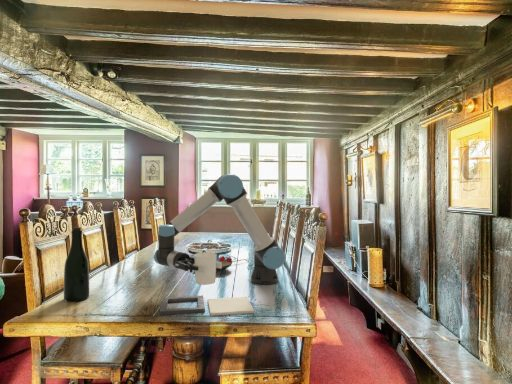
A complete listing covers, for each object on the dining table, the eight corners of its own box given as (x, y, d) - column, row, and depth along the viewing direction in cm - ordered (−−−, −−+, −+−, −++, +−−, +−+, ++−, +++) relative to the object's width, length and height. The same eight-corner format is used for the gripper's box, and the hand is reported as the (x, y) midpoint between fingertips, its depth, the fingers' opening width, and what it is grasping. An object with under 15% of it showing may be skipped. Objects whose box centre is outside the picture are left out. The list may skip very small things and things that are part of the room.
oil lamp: (201, 278, 197) (201, 264, 197) (187, 267, 224) (187, 255, 224) (237, 274, 207) (237, 261, 207) (220, 264, 234) (220, 252, 234)
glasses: (218, 262, 240) (218, 255, 240) (236, 259, 251) (236, 252, 251) (231, 265, 230) (231, 258, 230) (249, 262, 241) (249, 255, 241)
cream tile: (246, 299, 160) (246, 296, 160) (254, 312, 142) (254, 310, 142) (207, 301, 156) (207, 299, 156) (210, 315, 139) (210, 313, 139)
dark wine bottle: (71, 294, 164) (72, 225, 164) (93, 295, 164) (93, 225, 163) (58, 302, 153) (58, 228, 153) (81, 302, 153) (81, 228, 153)
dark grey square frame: (202, 298, 160) (202, 295, 160) (204, 312, 142) (204, 308, 142) (162, 300, 156) (162, 297, 156) (159, 315, 139) (159, 311, 139)
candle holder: (212, 286, 143) (212, 257, 143) (190, 284, 145) (190, 256, 145) (219, 279, 152) (219, 252, 152) (199, 278, 154) (199, 251, 154)
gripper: (197, 264, 168) (230, 271, 154) (159, 272, 151) (193, 281, 137) (197, 249, 168) (230, 254, 154) (159, 255, 151) (193, 262, 137)
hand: (213, 267), depth 146 cm, fingers closed on candle holder, 9 cm apart
